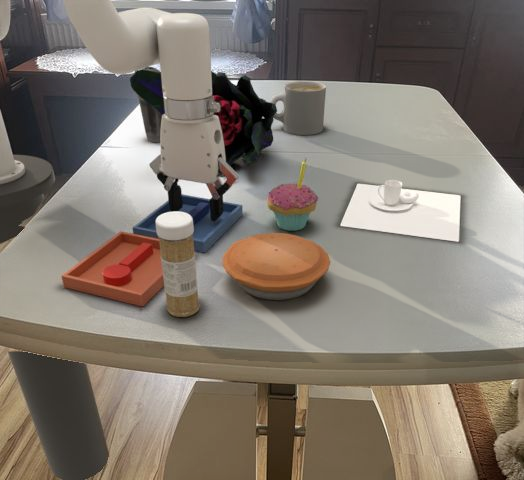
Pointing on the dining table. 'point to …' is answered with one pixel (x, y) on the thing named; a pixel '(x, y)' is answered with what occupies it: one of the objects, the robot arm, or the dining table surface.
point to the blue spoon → (199, 212)
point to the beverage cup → (150, 117)
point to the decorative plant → (224, 112)
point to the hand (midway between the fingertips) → (196, 213)
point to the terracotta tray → (112, 252)
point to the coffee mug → (302, 107)
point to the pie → (276, 265)
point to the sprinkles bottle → (178, 262)
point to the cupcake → (292, 203)
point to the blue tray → (203, 229)
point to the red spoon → (127, 266)
